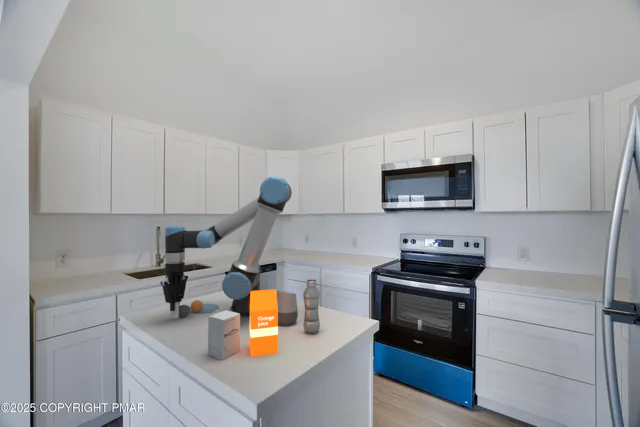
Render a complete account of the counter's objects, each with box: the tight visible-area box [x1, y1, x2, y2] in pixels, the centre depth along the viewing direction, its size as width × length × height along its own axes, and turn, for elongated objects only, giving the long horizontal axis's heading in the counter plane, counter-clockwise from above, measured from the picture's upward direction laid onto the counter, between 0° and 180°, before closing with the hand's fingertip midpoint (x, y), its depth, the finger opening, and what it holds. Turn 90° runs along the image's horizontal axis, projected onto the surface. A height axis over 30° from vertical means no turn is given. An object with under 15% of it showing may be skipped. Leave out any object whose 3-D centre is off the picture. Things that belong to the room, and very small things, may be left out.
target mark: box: [189, 303, 220, 315], centre depth 136 cm, size 14×14×1 cm
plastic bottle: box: [302, 279, 321, 334], centre depth 109 cm, size 6×7×20 cm
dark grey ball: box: [178, 304, 191, 319], centre depth 125 cm, size 6×6×6 cm
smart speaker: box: [276, 290, 299, 327], centre depth 118 cm, size 10×9×14 cm
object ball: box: [189, 299, 204, 312], centre depth 131 cm, size 6×6×6 cm
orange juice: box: [249, 288, 279, 357], centre depth 95 cm, size 8×9×20 cm
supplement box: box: [207, 309, 241, 361], centre depth 92 cm, size 7×7×13 cm
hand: (174, 317), depth 119 cm, fingers closed
